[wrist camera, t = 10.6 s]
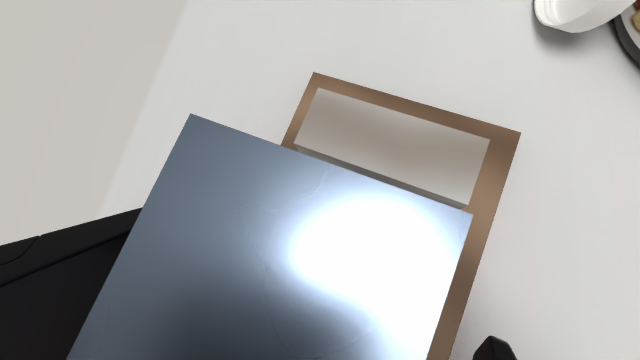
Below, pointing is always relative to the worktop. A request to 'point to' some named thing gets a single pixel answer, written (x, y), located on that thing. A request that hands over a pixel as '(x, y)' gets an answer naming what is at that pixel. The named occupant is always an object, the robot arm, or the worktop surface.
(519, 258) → the worktop surface
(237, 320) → the steel block
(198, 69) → the worktop surface
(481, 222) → the base
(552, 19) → the spread jar
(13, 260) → the robot arm
